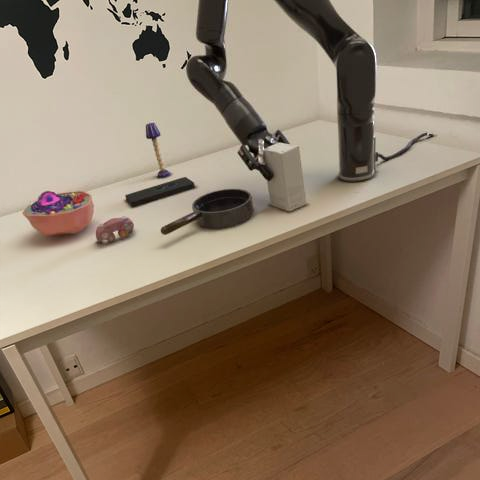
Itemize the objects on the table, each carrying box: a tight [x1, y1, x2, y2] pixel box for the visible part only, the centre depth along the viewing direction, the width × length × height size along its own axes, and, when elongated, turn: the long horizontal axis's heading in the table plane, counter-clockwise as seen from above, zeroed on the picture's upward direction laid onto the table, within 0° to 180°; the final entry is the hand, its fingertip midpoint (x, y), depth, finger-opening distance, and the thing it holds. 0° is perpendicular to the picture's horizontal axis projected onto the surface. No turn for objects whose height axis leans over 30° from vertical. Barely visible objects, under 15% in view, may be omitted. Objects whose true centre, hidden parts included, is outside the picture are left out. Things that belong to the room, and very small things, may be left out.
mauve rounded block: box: [95, 215, 135, 243], centre depth 120 cm, size 10×5×7 cm, turn 117°
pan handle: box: [160, 211, 202, 236], centre depth 114 cm, size 12×2×2 cm, turn 133°
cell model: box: [21, 190, 95, 236], centre depth 128 cm, size 17×20×11 cm
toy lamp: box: [145, 122, 171, 179], centre depth 155 cm, size 5×5×17 cm
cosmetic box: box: [263, 143, 307, 212], centre depth 119 cm, size 8×6×15 cm
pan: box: [191, 188, 255, 230], centre depth 122 cm, size 15×15×4 cm
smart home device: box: [124, 176, 196, 208], centre depth 145 cm, size 8×2×20 cm
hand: (282, 173), depth 118 cm, fingers open, 7 cm apart
